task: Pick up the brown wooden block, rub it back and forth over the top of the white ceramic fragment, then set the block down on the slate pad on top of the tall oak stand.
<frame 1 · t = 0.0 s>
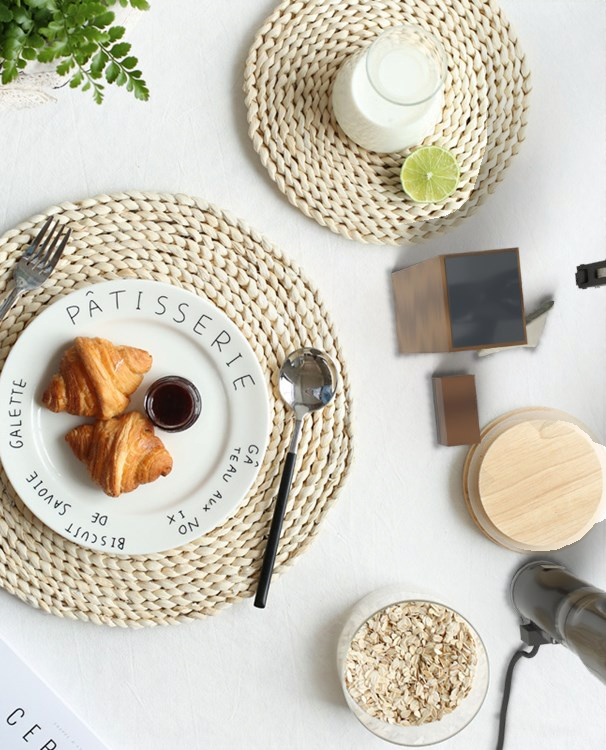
pad: (483, 299, 101), resting on stand
ceramic fragment: (513, 329, 124), on the table
brown wooden block: (450, 408, 124), on the table
stand: (427, 310, 123), on the table
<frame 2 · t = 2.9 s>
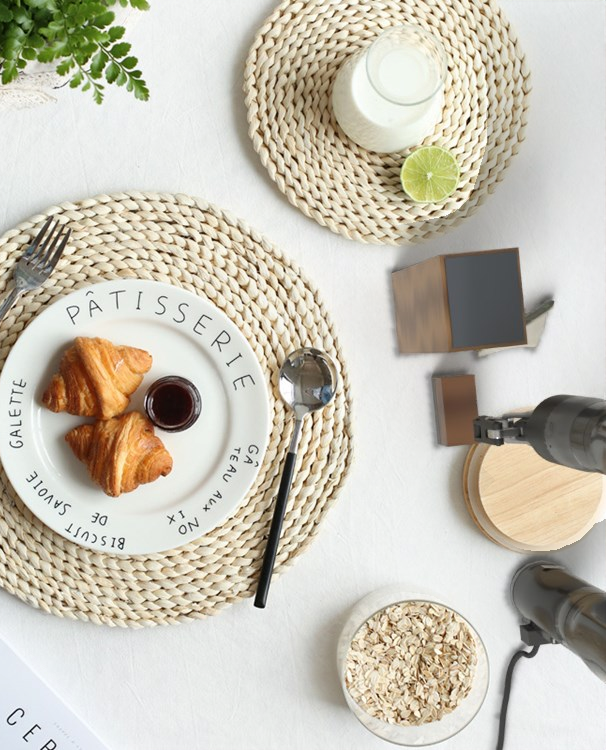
hand: (515, 420, 101), 23 cm above the table, tool pointing down, fingers open, 8 cm apart
nothing on the table moved.
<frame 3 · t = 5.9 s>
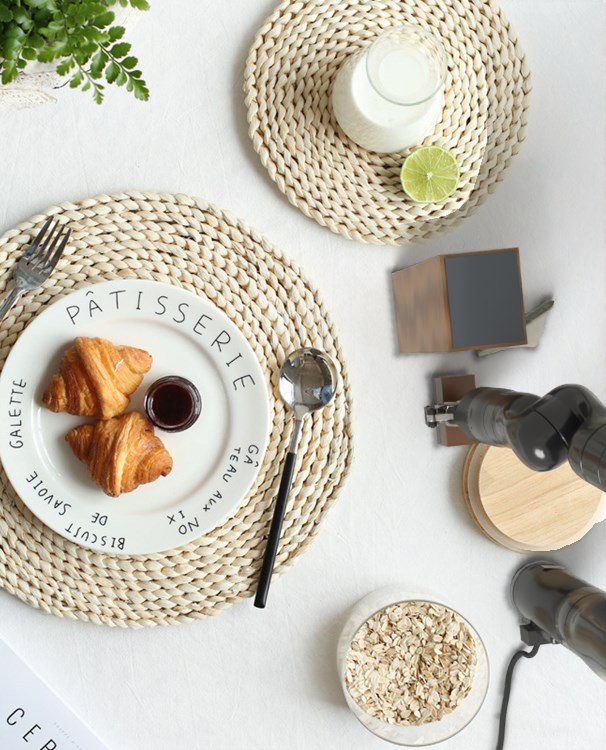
hand: (451, 408, 123), 0 cm above the table, tool pointing down, fingers closed on brown wooden block, 5 cm apart
brown wooden block: (450, 408, 124), on the table, touching gripper
everything else where it was.
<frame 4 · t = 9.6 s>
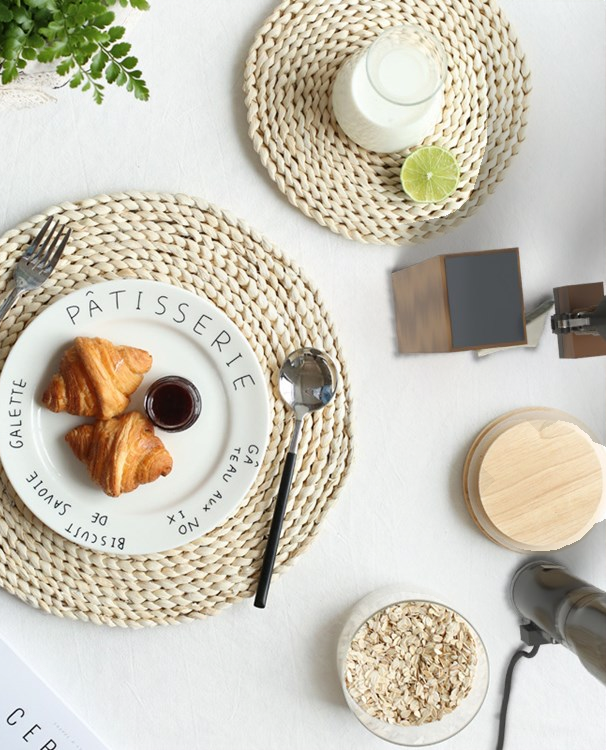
hand: (574, 321, 116), 9 cm above the table, tool pointing down, fingers closed on brown wooden block, 5 cm apart
brown wooden block: (572, 321, 116), point 8 cm above the table, touching gripper
everything else where it was.
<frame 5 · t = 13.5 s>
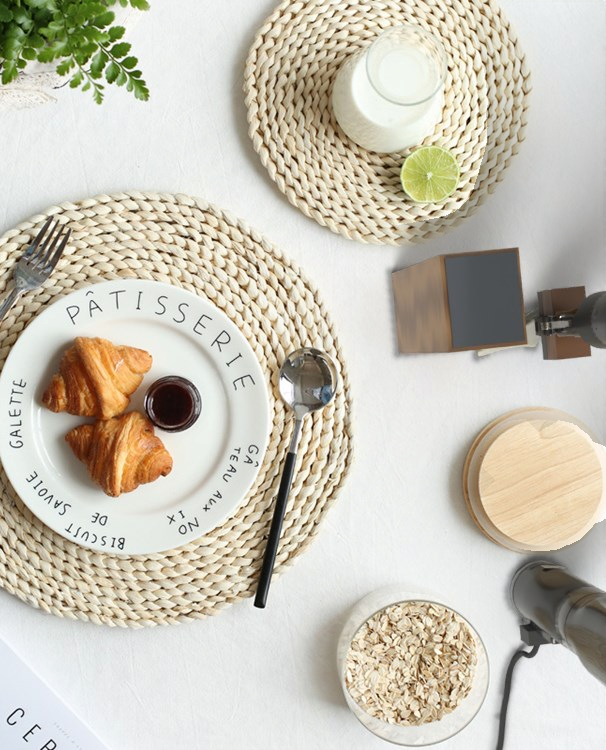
hand: (557, 324, 120), 4 cm above the table, tool pointing down, fingers closed on brown wooden block, 5 cm apart
brown wooden block: (556, 324, 121), point 4 cm above the table, touching gripper
everything else where it was.
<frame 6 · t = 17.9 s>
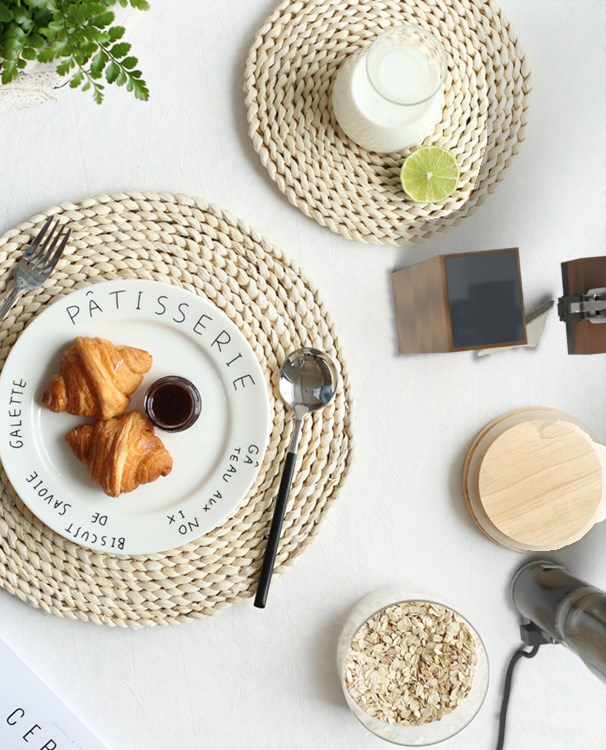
hand: (588, 307, 89), 35 cm above the table, tool pointing down, fingers closed on brown wooden block, 5 cm apart
brown wooden block: (586, 306, 89), point 34 cm above the table, touching gripper
everything else where it was.
when the fingers open (23 cm above the table, at t = 21.6 s): brown wooden block stays where it is, resting on pad.
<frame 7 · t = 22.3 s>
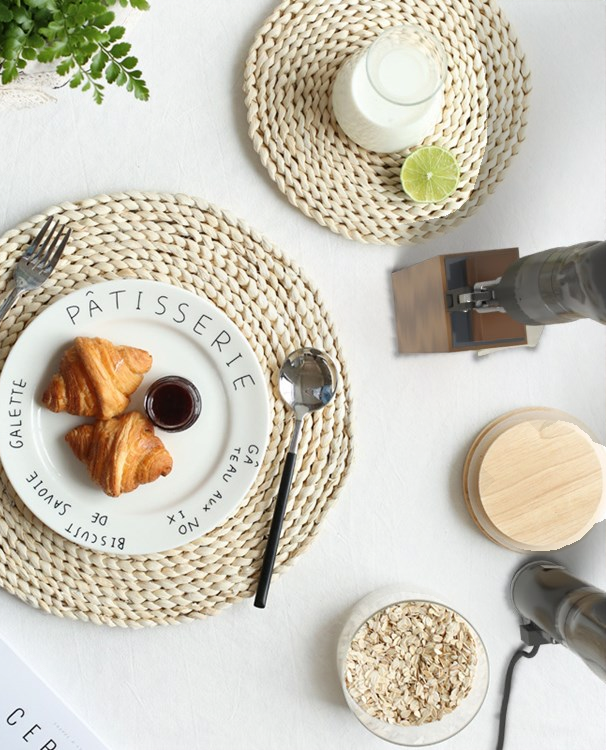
hand: (489, 298, 99), 24 cm above the table, tool pointing down, fingers open, 8 cm apart
brown wooden block: (485, 299, 101), point 22 cm above the table, touching pad
everything else where it was.
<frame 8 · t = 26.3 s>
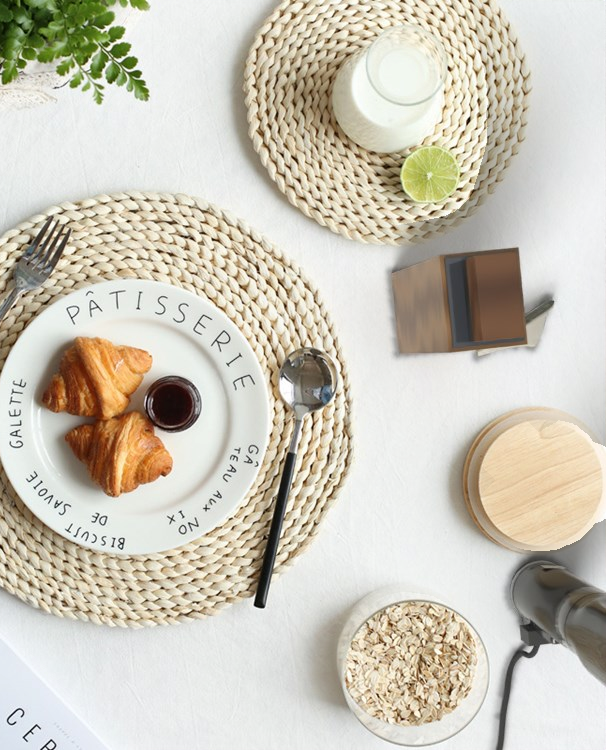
nothing on the table moved.
at the end: brown wooden block inside the target area on the pad (0.1 cm from its centre), point 0.4 cm above the pad's base; ceramic fragment moved 0.2 cm from its start; the gripper is holding nothing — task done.
